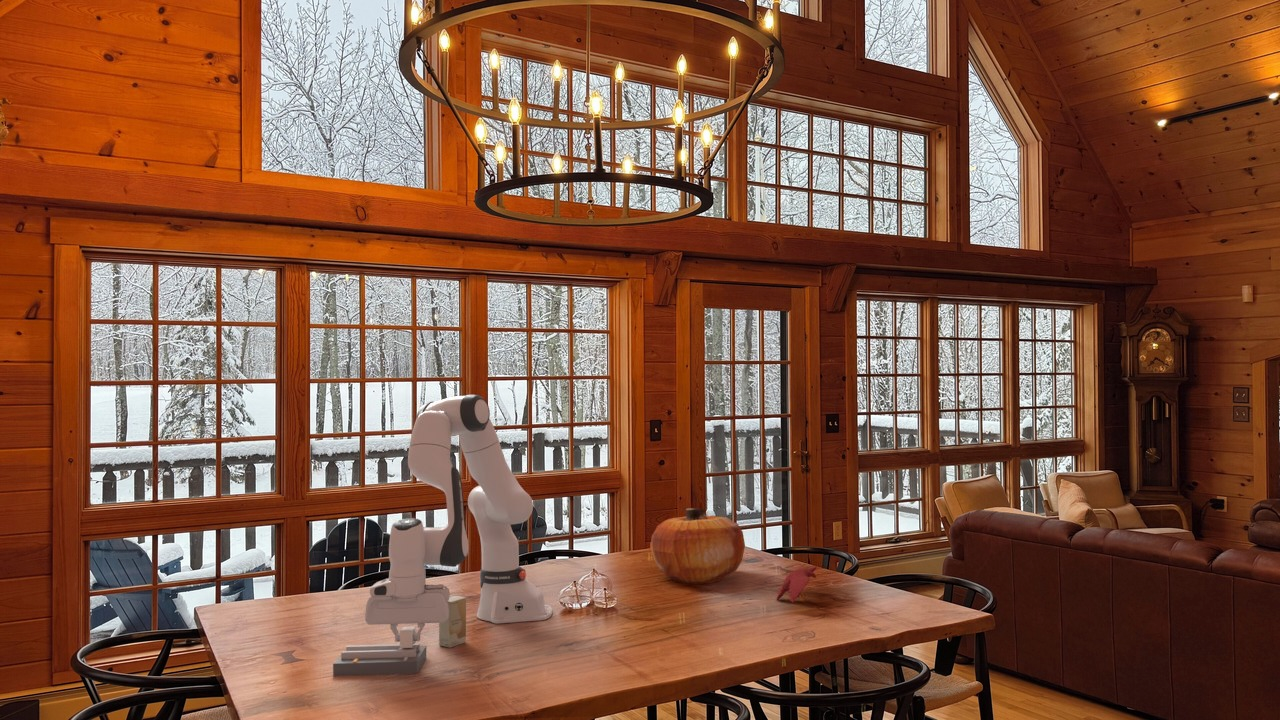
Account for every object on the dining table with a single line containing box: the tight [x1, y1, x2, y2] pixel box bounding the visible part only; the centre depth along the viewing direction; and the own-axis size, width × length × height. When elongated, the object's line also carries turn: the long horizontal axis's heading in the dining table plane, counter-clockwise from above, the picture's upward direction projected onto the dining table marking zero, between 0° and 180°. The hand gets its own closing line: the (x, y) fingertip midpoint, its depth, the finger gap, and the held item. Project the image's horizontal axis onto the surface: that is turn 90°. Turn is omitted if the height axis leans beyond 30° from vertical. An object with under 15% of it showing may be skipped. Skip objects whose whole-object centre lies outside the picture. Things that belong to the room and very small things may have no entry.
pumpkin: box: [650, 507, 746, 585], centre depth 305 cm, size 33×33×25 cm
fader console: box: [332, 643, 427, 677], centre depth 215 cm, size 20×12×5 cm, turn 93°
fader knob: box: [399, 626, 417, 652], centre depth 216 cm, size 4×4×6 cm
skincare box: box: [438, 595, 467, 648], centre depth 233 cm, size 6×4×12 cm
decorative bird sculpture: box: [776, 566, 817, 603], centre depth 273 cm, size 28×9×15 cm
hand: (407, 640), depth 216 cm, fingers closed on fader knob, 3 cm apart
